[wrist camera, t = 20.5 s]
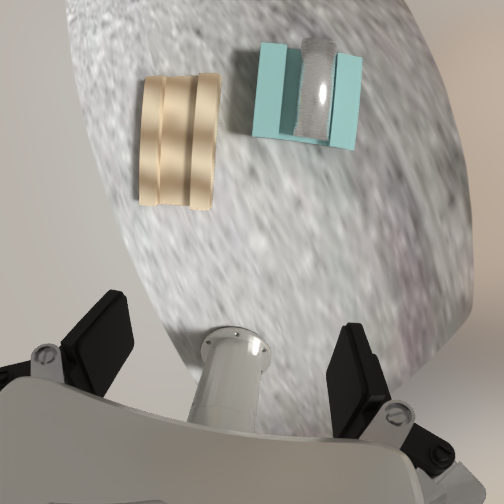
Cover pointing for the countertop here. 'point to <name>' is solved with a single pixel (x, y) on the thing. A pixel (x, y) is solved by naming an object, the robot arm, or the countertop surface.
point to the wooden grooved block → (179, 140)
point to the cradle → (285, 97)
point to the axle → (315, 89)
